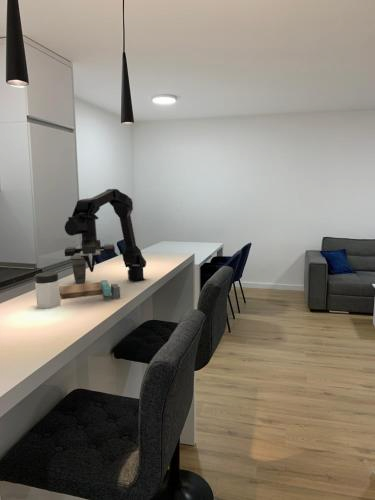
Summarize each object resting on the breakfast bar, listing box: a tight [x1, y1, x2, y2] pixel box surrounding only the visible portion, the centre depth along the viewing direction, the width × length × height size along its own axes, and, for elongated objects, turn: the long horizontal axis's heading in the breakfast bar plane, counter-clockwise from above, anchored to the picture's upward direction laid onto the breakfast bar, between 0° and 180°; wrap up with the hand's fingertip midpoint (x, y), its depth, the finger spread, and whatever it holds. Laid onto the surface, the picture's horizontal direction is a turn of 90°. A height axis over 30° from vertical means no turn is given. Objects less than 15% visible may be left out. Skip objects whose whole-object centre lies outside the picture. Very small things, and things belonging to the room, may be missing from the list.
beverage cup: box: [70, 239, 87, 285], centre depth 185 cm, size 7×7×20 cm
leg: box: [100, 279, 112, 297], centre depth 161 cm, size 16×3×2 cm, turn 17°
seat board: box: [59, 281, 111, 300], centre depth 169 cm, size 20×14×2 cm
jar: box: [34, 271, 61, 309], centre depth 150 cm, size 9×8×12 cm
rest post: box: [110, 283, 121, 300], centre depth 159 cm, size 2×6×4 cm, turn 21°
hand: (92, 271), depth 157 cm, fingers closed
